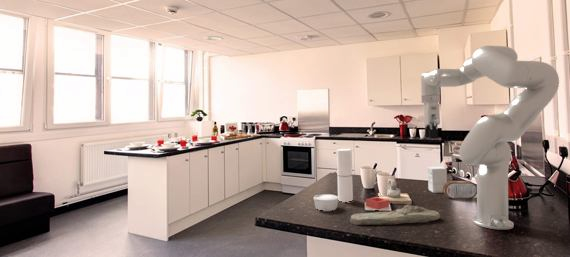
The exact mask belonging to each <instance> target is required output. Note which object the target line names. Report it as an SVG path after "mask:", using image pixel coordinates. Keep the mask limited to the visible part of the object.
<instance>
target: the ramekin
mask: <svg viewBox="0 0 570 257" xmlns="http://www.w3.org/2000/svg"><path fill="white" fill-rule="evenodd" d="M313 201H314V202H313V203H314V207H315V209H316V210H317V209H318V210H317V211H320V210H323V211H322V212H331V211H332V210H333V211H335V210H336V209H337V208H338V202H339V201H338V195H335V194H328V193H327V194H316V195H314V196H313Z"/></svg>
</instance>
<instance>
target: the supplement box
mask: <svg viewBox="0 0 570 257" xmlns="http://www.w3.org/2000/svg"><path fill="white" fill-rule="evenodd" d="M427 181H428V182H427V183H428V184H427V185H428V188H427V189H428V191H430V192H431V193H433V194H434V193H439V194H444V192H443V187H444V185H445V184H446V183H447V182H448V170H447V168H446V167H443V166H427Z"/></svg>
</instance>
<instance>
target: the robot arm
mask: <svg viewBox="0 0 570 257" xmlns="http://www.w3.org/2000/svg"><path fill="white" fill-rule="evenodd" d="M420 76H421V77H420V85H421V86H420V87H421V88H420V89H421V90H420V91H421V92H420V93H421V104H423V121H424V122H423V123H424V124H425V125H424V136H425V137H424V138H429V139H438V138H439V130H438V125H440V124H441V117H440V115H441V114H440V105H439V103H441V90H440V88H442V87H443V88H446V87H448V88H449V87H450V88H452V87H453V88H455V87H461V86H464V85H468V84H471V83H473V82H475V81H477V79H480V78H484V77H486V78H488V79H490V80H491V81H493V82H494V83H496V84H497V85H500V86H501V87H505V88H508V89H523V90H522V91H521V92H520V93H518V94H517V95H516V96H515V97H514V98H513V99H512V100H511V102H510V103H509V104H508V105H507V107H506V108H505V110H503V111H502V112H500V113H498V114H497V113H496V114H495V113H494V114H487V115H484V116H483V117H481V118H479V119H478V120H477V121H475V123H474V125H472V127H471V130H470V131H469V132H468V133H467V134H466V136H465V137H464V140H463V141H462V142H461V144H460V147H459V152H458V153H459V155H458V156H459V158H460V160H461V161H462V162H463V163H464V164H466V165H467V166H470V167H471V166H473V167H474V166H475V167H477V166H479V167H478V169H477V172H476V186H477V194H476V216H473V217H472V219H471V221H472V223H473V224H475V225H476V226H479V227H483V228H484V229H485V228H487V229H491V230H498V231H500V230H501V231H502V230H503V231H504V230H511V229H513V228H514V227H515V226H514V222H513V221H511V220H509V169H510V168H509V167H510V161H511V157H512V149H511V146H510V144H509V142H514V141H518V140H519V139H520V138H522V136H523V135H524V134H525V133H526V131H527V130H528V129H529V127H530V126H531V125H532V124H533V123H534V122H535V120H536V119H537V118H538V117H539V115H540V114H541V112H543V110H544V109H545V108H546V107H547V106H548V105H549V104H550V102H551V101H552V100H553V99H554V97H555V96H556V94H557V92H558V90H559V87H560V86H559V84H560V78H559V73H558V72H557V70H556V69H555V67H553V66H552V65H551V64H550V63H547V62H543V61H538V60H537V61H536V60H518V53H517V51H515V49H513V48H512V47H510V46H505V45H504V46H502V45H484V46H480V47H479V48H477V49H476V50H475V51H474V52H473V54H472V56H470V57H469V58H467V59H466V60H464V62H463V67H459V68H435V69H433V70H430V71H426V72H423V73H421V75H420Z"/></svg>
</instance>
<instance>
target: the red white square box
mask: <svg viewBox="0 0 570 257" xmlns="http://www.w3.org/2000/svg"><path fill="white" fill-rule="evenodd" d="M365 202H366V206H368V207H372V208H375V209H381V208H385V207H389V204H390V203H389V200H387V199H384V198H380V197H378V196H373V197H371V198H370V197H369V198H366V199H365Z"/></svg>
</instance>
